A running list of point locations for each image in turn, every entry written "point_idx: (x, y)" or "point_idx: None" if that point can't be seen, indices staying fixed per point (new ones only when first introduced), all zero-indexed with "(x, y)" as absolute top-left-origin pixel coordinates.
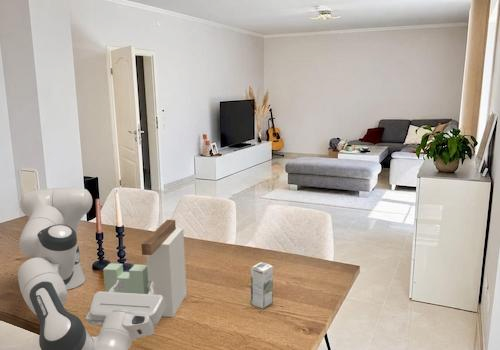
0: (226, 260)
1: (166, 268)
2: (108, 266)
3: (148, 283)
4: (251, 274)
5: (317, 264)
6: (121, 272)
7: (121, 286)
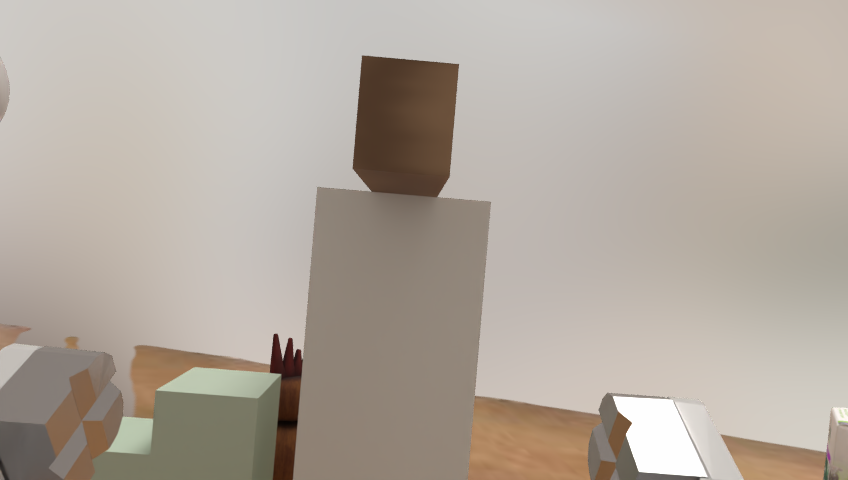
0: (492, 435)
1: (447, 381)
2: None
3: (635, 423)
4: (839, 464)
5: (804, 460)
6: None
7: (63, 472)
